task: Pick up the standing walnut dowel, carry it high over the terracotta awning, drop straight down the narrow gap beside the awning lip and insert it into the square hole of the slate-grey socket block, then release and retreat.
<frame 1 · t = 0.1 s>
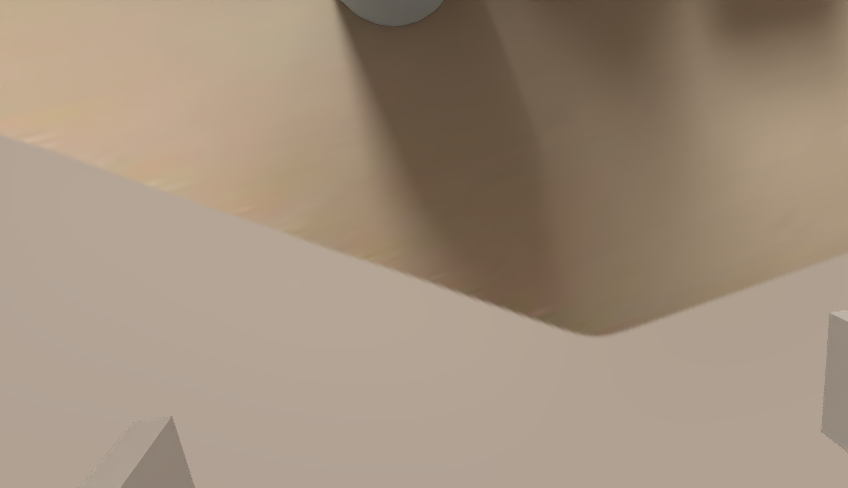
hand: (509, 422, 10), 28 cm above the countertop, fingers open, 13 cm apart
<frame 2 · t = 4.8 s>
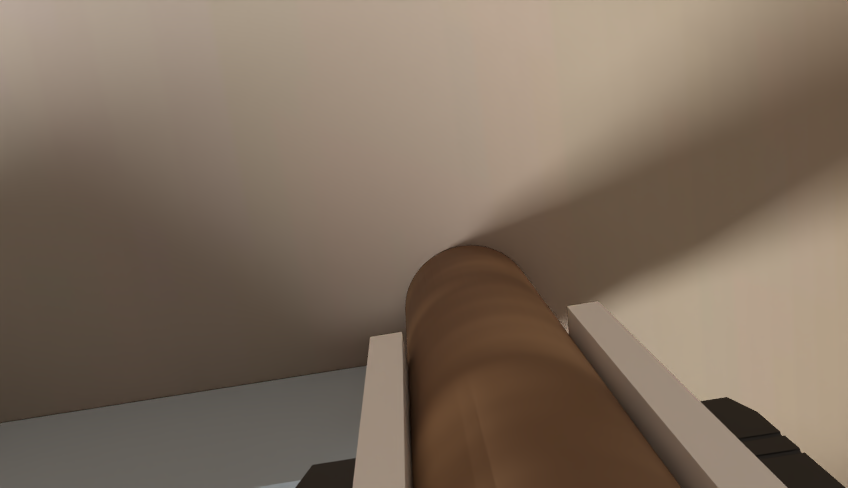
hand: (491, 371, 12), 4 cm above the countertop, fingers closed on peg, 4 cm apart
peg: (468, 306, 16), on the countertop, touching gripper
when the fingers open (6 cm above the countertop, at t = 10.3 s): peg drops 1 cm, resting in awning socket.
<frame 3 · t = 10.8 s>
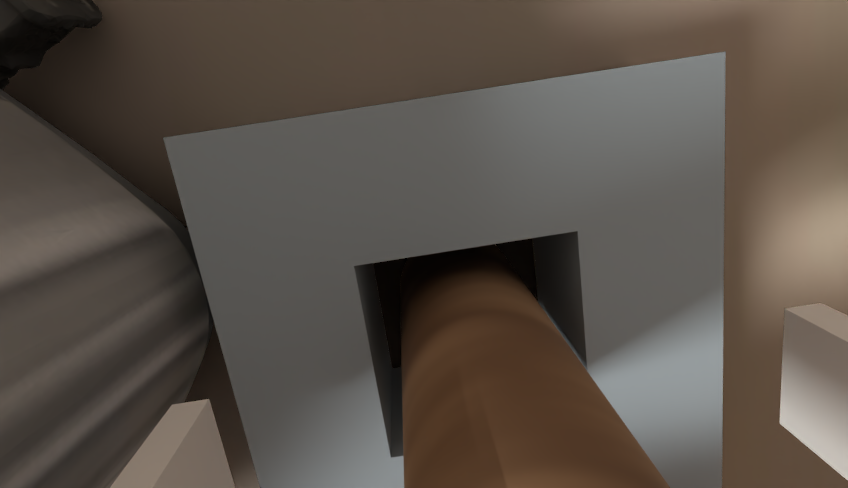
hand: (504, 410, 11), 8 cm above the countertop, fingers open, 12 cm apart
awning socket: (457, 285, 18), on the countertop
peg: (456, 285, 18), resting in awning socket
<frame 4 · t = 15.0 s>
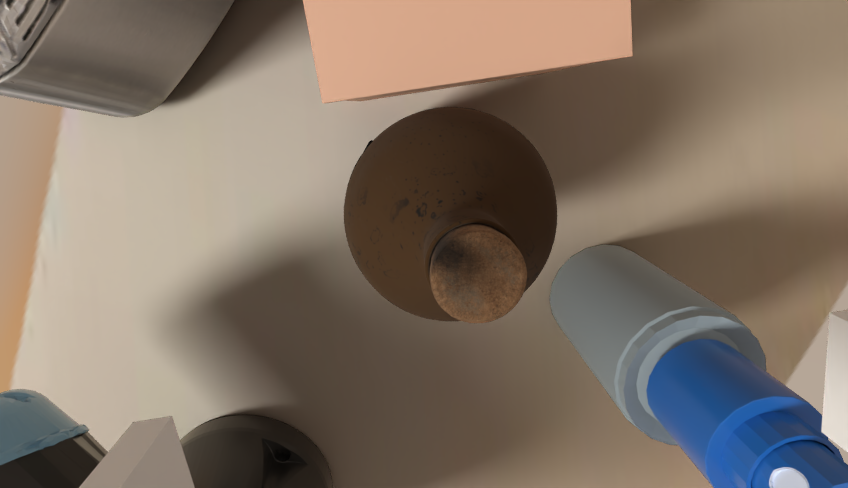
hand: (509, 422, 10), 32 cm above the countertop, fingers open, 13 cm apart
olive oil: (430, 174, 41), on the countertop
spray bottle: (600, 293, 44), on the countertop
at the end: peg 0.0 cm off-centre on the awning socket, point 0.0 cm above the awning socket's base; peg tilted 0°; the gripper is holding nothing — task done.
